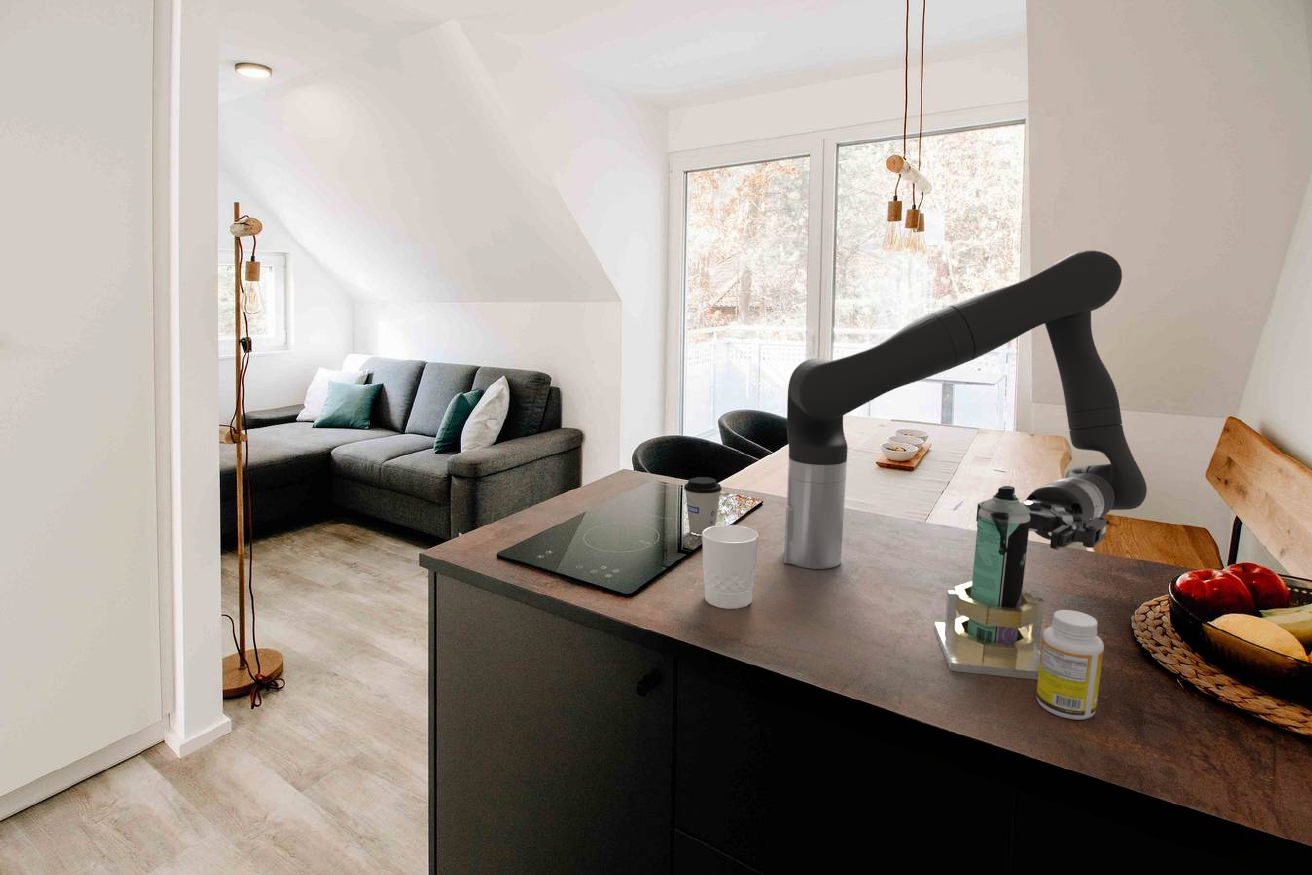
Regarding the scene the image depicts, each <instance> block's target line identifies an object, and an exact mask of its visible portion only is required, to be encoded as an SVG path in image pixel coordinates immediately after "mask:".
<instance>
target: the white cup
mask: <svg viewBox="0 0 1312 875" xmlns="http://www.w3.org/2000/svg"><path fill="white" fill-rule="evenodd" d="M701 539H702V542H701V543H702V565H703V570H702V571H703V572H702V573H703V582H704V599H705V601H706V602H707V603H708V604H709V605H711V606H712V607H713V606H714V607H715V608H718V609H724V610H725V609H727V610H731V609H732V610H733V609H735V610H736V609H742V608H746V607H748V606H749V605H750V604H751V603H752V601H753V589H754V583H755V576H756V565H757V554H758V542H759V533H758V532H757V531H756V530H755V529H752V528H750V527H746V526H743V525H735V524H719V525H715V526H712V527H709V528H706V529H705V530H703V532H702V538H701Z"/></svg>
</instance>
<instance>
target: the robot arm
mask: <svg viewBox="0 0 1312 875" xmlns="http://www.w3.org/2000/svg"><path fill="white" fill-rule="evenodd" d="M1122 279H1123V271H1122V268H1121V265H1120V263H1119V262H1118V260H1117V259H1116V258H1114V257H1113V256H1112V255H1110V254H1108V253H1106V252H1103V251H1100V250H1087V249H1086V250H1079V251H1076V252H1073V253H1071V254H1069V255H1066V256H1065V257H1063V258H1062V259H1060V260H1058V261H1057V262H1055V263H1053V264H1052V265H1050V266H1048V267H1047V268H1045V269H1044V270H1041V271H1039V272H1037V273H1035V274H1034V275H1033V274H1032V275H1031V276H1030V277H1027V278H1024V279H1023V280H1020V281H1018V282H1016V283H1013V284H1010V285H1007V286H1003V287H1000V288H997V289H994V290H990V291H987V292H983V293H981V294H978V295H975V296H972V297H969V298H966V299H963V300H961V301H959V302H956V303H952V304H950V305H947V306H945V307H943V308H941V309H940V308H939V309H937V310H935V311H932V312H931V313H928V314H925V315H924V316H921V317H919V318H917V319H915V320H913V321H912V322H910V323H909V324H908V325H906V326H904V327H902V328H901V329H900V330H899V331H897V332H896V333H894V334H893V335H892V336H890V337H889V338H887V339H886V340H884V341H882V342H881V343H879V344H877V345H876V346H875V345H874V346H872V347H871V348H868V349H865V350H862V351H860V352H857V353H854V354H851V355H848V356H844V357H842V358H837V359H833V360H830V359H826V358H820V357H819V358H818V357H816V358H810V359H807V360H805V361H802V362H801V363H799V364H798V366H796V368H795V369H794V370H793V371H792V373H791V375H790V378H789V381H788V385H787V401H786V403H787V405H786V406H787V408H786V409H787V410H786V415H787V416H786V436H787V443H788V471H787V487H786V488H787V490H786V505H785V506H786V507H785V530H784V532H785V533H784V552H783V563H784V564H788V565H789V564H790V565H793V566H796V567H800V568H805V569H811V570H812V569H813V570H824V569H825V570H826V569H833V568H835V567H838V566H839V565H841V563H842V553H843V536H844V535H843V534H844V517H845V516H844V515H845V501H846V483H847V465H848V464H847V463H848V450H849V449H848V442H847V440H846V437H845V432H844V416H845V415H847V414H849V413H850V412H853V411H854V410H856V409H858V408H860V407H862V406H863V405H865V404H867V403H869V402H871V401H873V400H875V399H876V398H879V397H880V396H883V395H884V394H886V393H888V392H891V391H893V390H895V389H898V388H901V387H903V386H908V385H909V384H912V383H915V382H919V381H922V380H924V379H927V378H929V377H932V376H935V375H937V374H940V373H942V372H943V373H944V372H946V371H949V370H951V369H954V368H956V367H958V366H961V365H963V364H966V363H968V362H971V361H973V360H975V359H978V358H980V357H982V356H984V355H986V354H988V353H991V352H992V351H994V350H996V349H998V348H1000V347H1002V346H1003V345H1006V344H1008V343H1009V342H1011V341H1013V340H1015V339H1017V338H1018V337H1021V336H1022V335H1024V334H1025V333H1027V332H1029V331H1031V330H1033V329H1036V328H1037V327H1039V326H1042V325H1045V328H1046V331H1047V334H1048V337H1049V341H1050V344H1051V348H1052V350H1053V354H1054V358H1055V360H1056V361H1055V362H1056V364H1057V369H1058V372H1059V376H1060V380H1061V381H1060V382H1061V385H1062V390H1063V397H1064V398H1063V399H1064V403H1065V410H1066V418H1067V424H1068V430H1069V438H1070V442H1071V445H1072V446H1073V447H1074V449H1077V450H1082V451H1093V452H1098V453H1101V454H1103V455H1104V456H1105V457H1106V458H1107V459H1108V460H1109V463H1104V464H1093V465H1082V466H1076V467H1073V468H1071V469H1069V470H1068V471H1067V473H1066V475H1065V477H1064V478H1060V479H1057V480H1055V481H1052V482H1050V483H1048V484H1045V485H1044V486H1040V487H1038V488H1036V489H1034V490H1033V491H1032V492H1030V494H1029V495H1028V496H1027V498H1026V499H1025V500H1024V501H1023V502H1022V501H1021V502H1020V501H1019V502H1020V503H1022V504H1023V505H1024V506H1026V507H1028V508H1029V509H1030V513H1029V515H1030V525H1029V532H1034V534H1036V535H1038V536H1039V537H1041V538H1043V539H1046V540H1049V541H1050V543H1049V544H1050V545H1049V548H1050V549H1053V550H1056V551H1058V550H1059V549H1061V548H1066V547H1068V546H1076V545H1077V543H1082V546H1083V547H1085V548H1088V549H1091V548H1093V549H1094V548H1095V547H1096V546H1097V545H1098V544H1100V543H1101V542H1102V541H1103V540H1104V539H1105V537H1106V530H1107V521H1108V519H1107V518H1105V516H1106V515H1107V514H1108V513H1109V512H1110V511H1122V510H1123V511H1125V510H1126V511H1128V510H1129V511H1130V510H1134V509H1137V508H1139V507H1140V506H1141V505H1142V504H1143V503H1144V501H1145V500H1146V497H1147V493H1148V492H1147V491H1148V488H1147V483H1146V479H1145V478H1144V475H1143V473H1142V471H1141V469H1140V467H1139V465H1138V464H1137V461H1136V460H1135V457H1134V455H1133V453H1132V451H1131V449H1130V447H1129V444H1128V441H1127V438H1126V434H1125V431H1124V428H1123V421H1122V414H1121V408H1120V401H1119V395H1118V391H1117V390H1116V387H1115V383H1114V381H1113V379H1112V377H1111V375H1110V373H1109V371H1108V370H1107V368H1106V366H1105V364H1104V362H1103V360H1102V359H1101V357H1100V355H1099V353H1098V349H1097V347H1096V345H1095V340H1094V336H1093V331H1092V312H1093V311H1095V310H1098V309H1100V308H1102V307H1103V306H1104V305H1106V304H1107V303H1108V302H1110V301H1111V300H1112V299H1113V297H1114V296H1115V295H1116V294H1117V292H1118V290H1119V288H1120V287H1121V284H1122ZM990 499H993V497H992V498H989V499H986V500H983V501H981V502H978V503H977V508H976V517H975V518H976V519H975V521H976V522H977V523H976V527H977V526H978V516H979V510H980V509H981V507H980V505H981V503H982V502H986V501H988V500H990Z"/></svg>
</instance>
